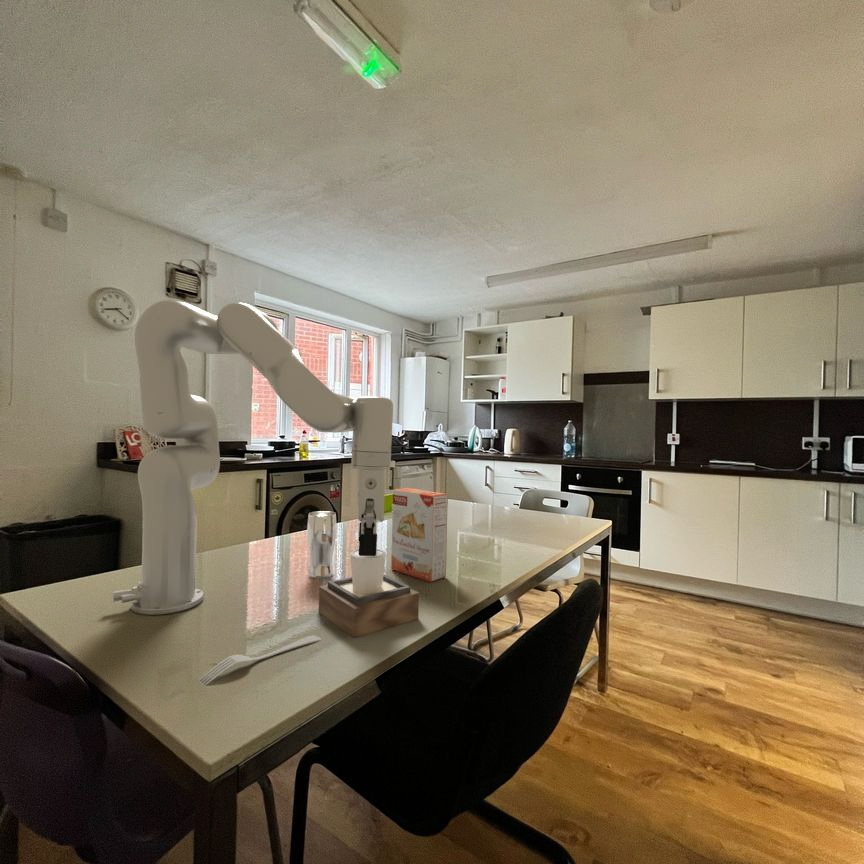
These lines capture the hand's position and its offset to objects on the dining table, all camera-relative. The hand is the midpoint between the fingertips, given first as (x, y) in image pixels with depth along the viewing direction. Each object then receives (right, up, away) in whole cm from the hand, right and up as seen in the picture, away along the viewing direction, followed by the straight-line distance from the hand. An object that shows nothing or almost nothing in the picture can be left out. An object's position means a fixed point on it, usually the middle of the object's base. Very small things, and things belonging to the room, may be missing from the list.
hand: (366, 548), depth 91 cm
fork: (-13, -13, -17) cm, 26 cm away
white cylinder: (0, -8, 0) cm, 8 cm away
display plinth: (0, -13, 0) cm, 13 cm away
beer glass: (-15, -13, +24) cm, 31 cm away
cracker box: (+9, -13, +26) cm, 31 cm away
